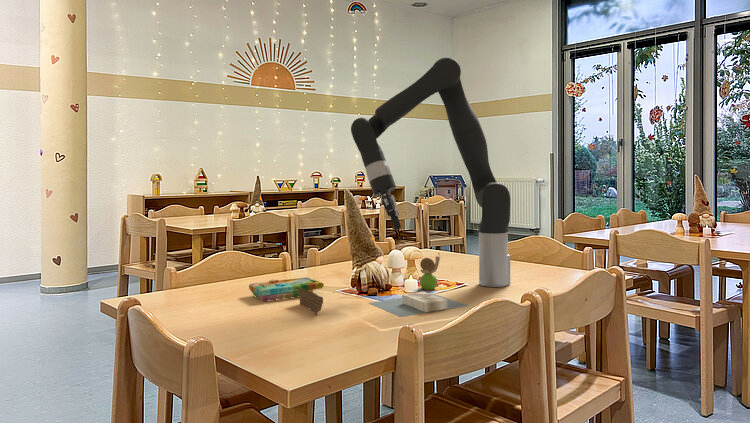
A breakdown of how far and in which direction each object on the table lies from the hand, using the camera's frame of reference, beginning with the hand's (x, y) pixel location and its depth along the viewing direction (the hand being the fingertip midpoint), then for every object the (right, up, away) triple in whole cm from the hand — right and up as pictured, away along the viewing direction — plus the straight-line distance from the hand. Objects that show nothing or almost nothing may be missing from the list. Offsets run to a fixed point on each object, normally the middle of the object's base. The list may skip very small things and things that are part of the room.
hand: (398, 229), depth 179 cm
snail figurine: (+10, -20, +3) cm, 22 cm away
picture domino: (+3, -19, -15) cm, 24 cm away
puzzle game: (-35, -21, 0) cm, 41 cm away
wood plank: (-26, -22, -19) cm, 39 cm away
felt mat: (+5, -21, -17) cm, 28 cm away
